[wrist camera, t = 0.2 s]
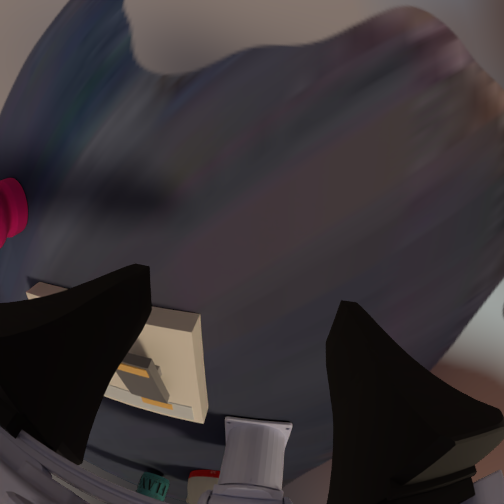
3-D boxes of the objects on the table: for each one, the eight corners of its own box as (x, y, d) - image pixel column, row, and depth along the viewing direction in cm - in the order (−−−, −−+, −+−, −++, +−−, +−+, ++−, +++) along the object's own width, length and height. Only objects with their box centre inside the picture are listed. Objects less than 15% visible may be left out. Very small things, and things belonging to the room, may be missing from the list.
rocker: (169, 395, 24) (166, 404, 23) (134, 385, 24) (131, 394, 23) (151, 358, 20) (147, 369, 19) (110, 347, 20) (105, 358, 19)
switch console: (208, 407, 28) (202, 428, 26) (73, 368, 30) (62, 382, 27) (200, 314, 23) (189, 337, 20) (39, 281, 24) (22, 294, 22)
